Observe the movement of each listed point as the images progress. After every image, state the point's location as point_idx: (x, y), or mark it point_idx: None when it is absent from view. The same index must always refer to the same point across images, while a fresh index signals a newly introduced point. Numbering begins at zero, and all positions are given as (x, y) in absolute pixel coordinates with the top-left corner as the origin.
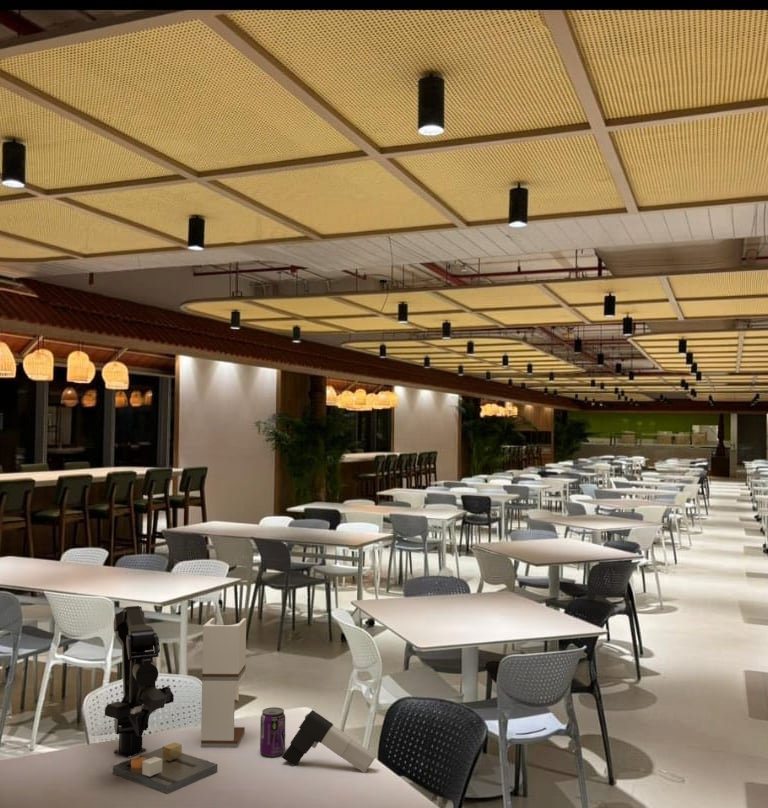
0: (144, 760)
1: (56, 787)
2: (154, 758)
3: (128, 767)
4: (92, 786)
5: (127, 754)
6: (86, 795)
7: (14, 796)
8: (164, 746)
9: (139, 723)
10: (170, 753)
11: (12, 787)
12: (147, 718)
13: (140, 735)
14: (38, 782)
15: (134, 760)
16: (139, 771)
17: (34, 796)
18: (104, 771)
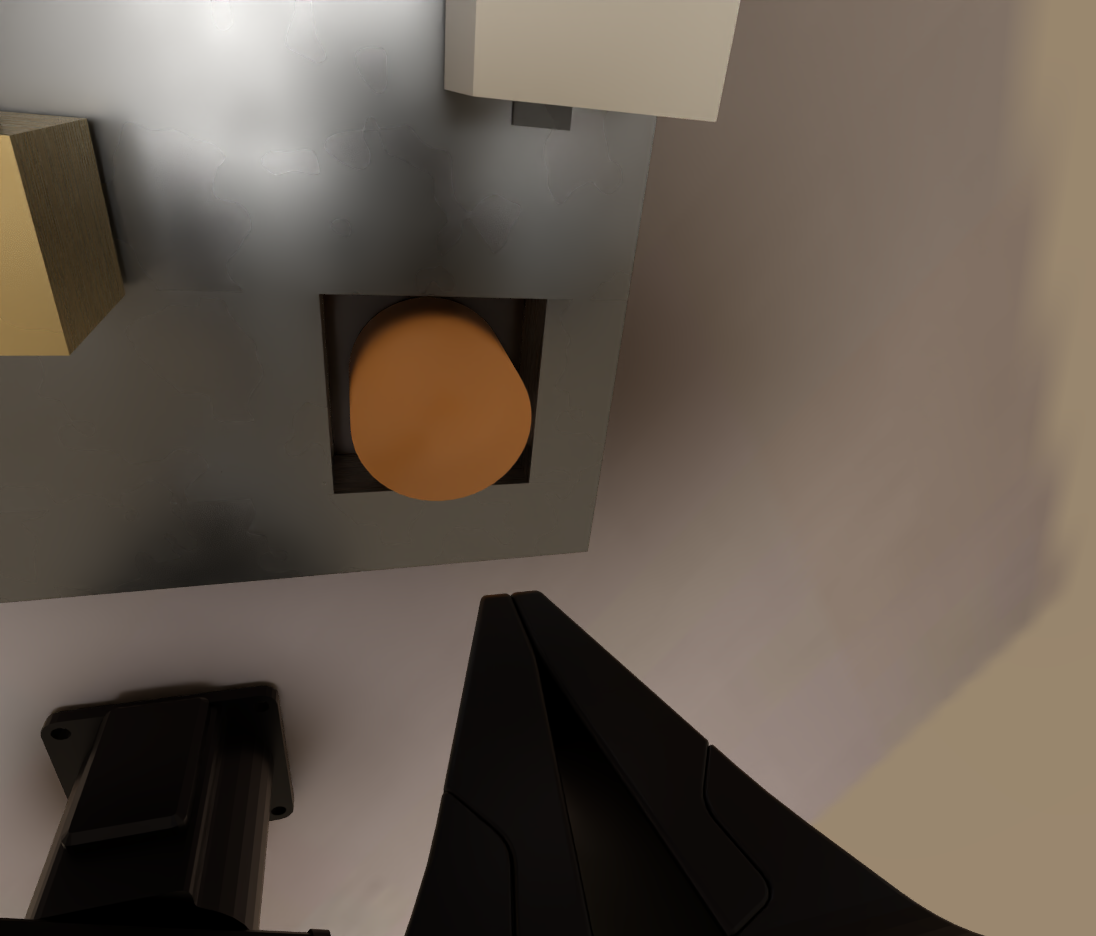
0: (421, 352)
1: (875, 577)
2: (539, 25)
3: (545, 423)
4: (807, 430)
5: (257, 718)
6: (948, 330)
7: (1008, 619)
8: (41, 338)
9: (718, 784)
10: (36, 127)
11: (918, 707)
12: (449, 921)
13: (524, 594)
14: (841, 687)
15: (488, 443)
16: (565, 239)
17: (998, 556)
18: (565, 587)
